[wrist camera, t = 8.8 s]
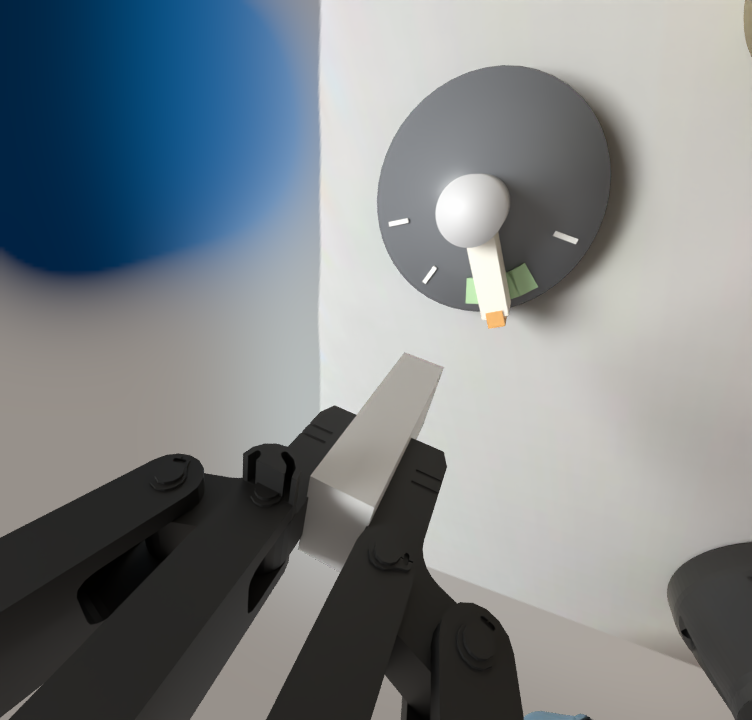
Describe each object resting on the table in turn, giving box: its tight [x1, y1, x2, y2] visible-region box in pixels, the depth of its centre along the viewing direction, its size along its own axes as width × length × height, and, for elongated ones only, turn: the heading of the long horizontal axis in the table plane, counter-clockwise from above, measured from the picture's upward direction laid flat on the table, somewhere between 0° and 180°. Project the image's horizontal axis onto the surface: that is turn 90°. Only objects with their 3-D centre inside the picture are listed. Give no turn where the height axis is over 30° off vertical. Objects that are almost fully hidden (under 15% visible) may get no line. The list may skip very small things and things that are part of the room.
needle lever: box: [435, 174, 511, 329], centre depth 22 cm, size 9×4×4 cm, turn 18°
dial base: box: [377, 65, 611, 311], centre depth 24 cm, size 14×14×2 cm
